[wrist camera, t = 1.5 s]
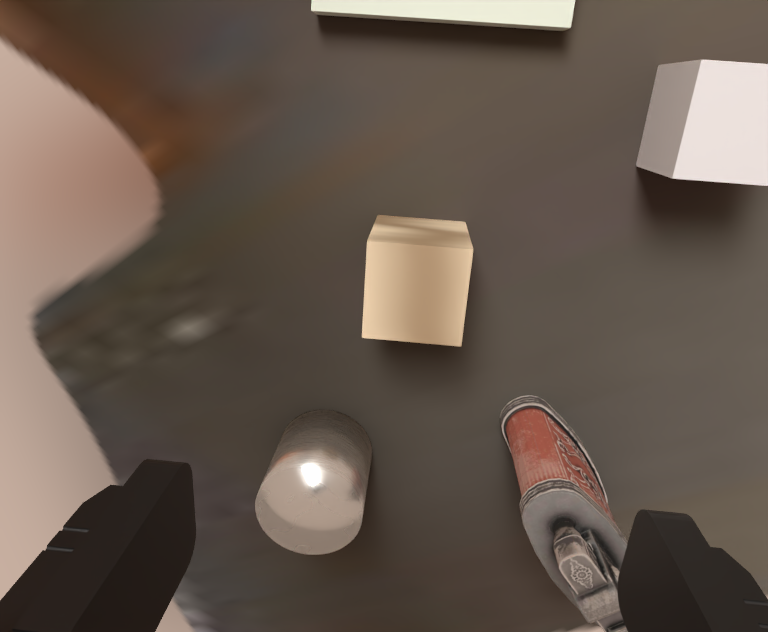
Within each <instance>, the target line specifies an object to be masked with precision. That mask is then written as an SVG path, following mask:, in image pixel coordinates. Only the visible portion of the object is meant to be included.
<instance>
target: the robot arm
mask: <svg viewBox="0 0 768 632" xmlns="http://www.w3.org/2000/svg"><path fill="white" fill-rule="evenodd" d="M195 538H196V523H195V508H194V494H193V479H192V470H191V467H190V465H189V464H188V463H182V462H172V461H162V460H152V459H146V460H144V461H143V462H142V463H141V464H140V465H139V466H138V468H137V469H136V470H135V472H134V473H133V474H132V475H131V477H130V478H129V479H128V481H127V482H126V483H125V484H124V486H117V485H110V486H108V487H107V488H105V489H104V490H102V491H101V492H99V493H97V494H96V495H94V496H93V497H91V498H90V499H88V500H87V501H85V502H84V503H83V504H82V505H81V506H80V507H79V508H78V510H77V511H76V512H75V513H74V514H73V515H72V516H71V518H70V519H69V520H68V521H67V522H66V524H65V525H64V526H63V530H62V531H59V532H58V533H57V535H55V537H54V538H53V539H52V540H51V541H50V543H49V544H48V545H47V549H46V550H45V551H44V550H43V551H42V552H41V553H40V554H39V556H38V557H37V558H36V559H35V560H34V561H33V563H32V564H31V565H30V566H29V567H28V569H27V570H26V571H25V572H24V573H23V574H22V576H21V577H20V578H19V579H18V580H17V582H16V583H15V584H14V585H13V586H12V587H11V589H10V590H9V591H8V592H7V593H6V595H5V596H4V597H3V598H2V599H1V600H0V632H155V631H156V629H157V627H158V625H159V623H160V621H161V619H162V617H163V615H164V613H165V611H166V609H167V607H168V605H169V603H170V601H171V599H172V597H173V595H174V593H175V591H176V589H177V587H178V585H179V583H180V581H181V579H182V578H183V576H184V574H185V572H186V570H187V568H188V565H189V563H190V560H191V557H192V554H193V550H194V545H195ZM618 602H619V608H620V612H621V615H622V618H623V621H624V623H625V626H626V629H627V631H628V632H768V599H767V597H766V596H765V595H764V593H763V592H762V590H761V589H760V587H759V586H758V584H757V583H756V581H755V580H754V578H753V577H752V575H751V574H750V573H749V572H748V571H747V570H746V569H745V568H743V567H742V566H741V565H740V564H739V563H738V562H737V561H735V560H734V559H733V558H732V557H731V556H730V555H729V554H727V553H726V552H725V551H724V550H723V549H722V548H714V547H710V546H709V544H708V543H707V541H706V540H705V538H704V536H703V535H702V533H701V532H700V530H699V528H698V527H697V525H696V524H695V522H694V521H693V519H692V518H691V517H690V516H689V515H687V514H683V513H673V512H663V511H653V510H640V511H639V512H638V513H637V515H636V517H635V519H634V523H633V526H632V530H631V533H630V537H629V541H628V544H627V548H626V551H625V555H624V558H623V562H622V566H621V569H620V573H619V577H618Z"/></svg>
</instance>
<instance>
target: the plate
mask: <svg viewBox="0 0 768 632" xmlns="http://www.w3.org/2000/svg"><path fill="white" fill-rule="evenodd" d="M574 5H575V0H312V5H311V11H312V12H314V13H315V14H317V15H328V16H343V17H358V18H373V19H388V20H403V21H419V22H434V23H449V24H464V25H479V26H494V27H509V28H525V29H540V30H555V31H565V30H567V29H569V28H571V23H572V17H573V11H574Z"/></svg>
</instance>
